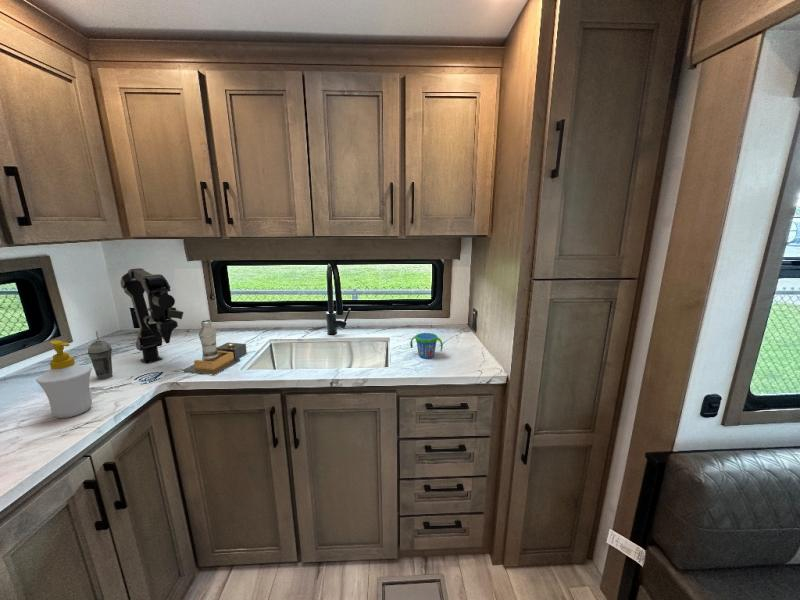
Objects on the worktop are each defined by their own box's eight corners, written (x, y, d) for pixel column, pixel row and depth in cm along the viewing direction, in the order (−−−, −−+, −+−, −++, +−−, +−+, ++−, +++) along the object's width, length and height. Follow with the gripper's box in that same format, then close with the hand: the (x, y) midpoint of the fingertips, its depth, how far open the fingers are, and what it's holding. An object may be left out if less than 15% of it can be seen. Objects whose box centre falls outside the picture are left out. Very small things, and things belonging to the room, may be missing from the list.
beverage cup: (114, 371, 139) (106, 326, 135) (118, 376, 134) (109, 330, 130) (91, 377, 133) (81, 330, 129) (95, 383, 129) (85, 334, 125)
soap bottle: (59, 426, 100) (40, 351, 95) (37, 417, 105) (18, 345, 100) (107, 406, 112) (93, 337, 107) (86, 399, 117) (71, 333, 111)
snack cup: (406, 357, 156) (407, 336, 154) (415, 350, 166) (415, 330, 163) (438, 362, 150) (438, 341, 148) (444, 355, 159) (445, 335, 157)
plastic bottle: (221, 365, 144) (216, 321, 140) (203, 368, 140) (197, 324, 136) (219, 360, 149) (214, 318, 145) (202, 363, 145) (196, 320, 141)
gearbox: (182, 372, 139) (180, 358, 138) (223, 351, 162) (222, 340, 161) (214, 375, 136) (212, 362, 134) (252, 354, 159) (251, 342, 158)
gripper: (189, 304, 136) (193, 340, 140) (170, 299, 147) (175, 332, 150) (157, 309, 128) (163, 347, 131) (140, 303, 138) (146, 338, 141)
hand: (163, 341), depth 139 cm, fingers open, 9 cm apart
